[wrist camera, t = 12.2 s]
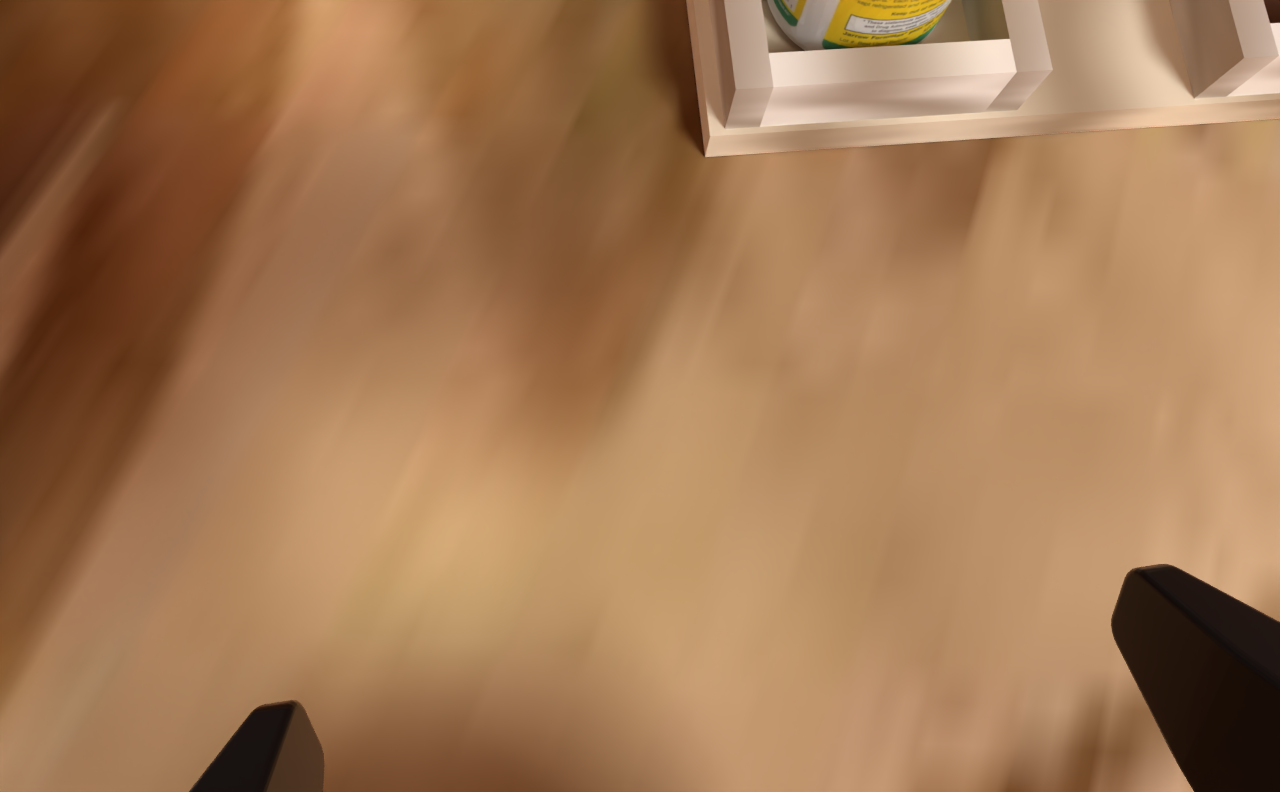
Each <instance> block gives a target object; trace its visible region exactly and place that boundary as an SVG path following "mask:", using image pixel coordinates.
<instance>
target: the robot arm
mask: <svg viewBox="0 0 1280 792" xmlns="http://www.w3.org/2000/svg"><path fill="white" fill-rule="evenodd" d="M1111 627H1112V633H1113V636H1114V639H1115V642H1116V644H1117V646H1118V648H1119V650H1120V652H1121V654H1122V656H1123V658H1124V660H1125V662H1126V664H1127V666H1128V668H1129V670H1130V672H1131V674H1132V676H1133V678H1134V680H1135V681H1136V683H1137V685H1138V687H1139V689H1140V691H1141V693H1142V695H1143V697H1144V699H1145V701H1146V703H1147V705H1148V707H1149V709H1150V711H1151V713H1152V715H1153V717H1154V719H1155V721H1156V723H1157V725H1158V727H1159V729H1160V731H1161V733H1162V735H1163V737H1164V739H1165V741H1166V743H1167V745H1168V747H1169V749H1170V751H1171V752H1172V754H1173V756H1174V758H1175V760H1176V762H1177V764H1178V765H1179V767H1180V769H1181V771H1182V772H1183V774H1184V776H1185V777H1186V779H1187V781H1188V782H1189V784H1190V786H1191V787H1192V789H1193V791H1194V792H1280V622H1279V621H1277V620H1275V619H1273V618H1271V617H1269V616H1268V615H1266V614H1264V613H1262V612H1260V611H1258V610H1256V609H1254V608H1252V607H1251V606H1249V605H1247V604H1245V603H1243V602H1241V601H1239V600H1237V599H1236V598H1234V597H1232V596H1230V595H1228V594H1226V593H1224V592H1222V591H1220V590H1219V589H1217V588H1215V587H1213V586H1211V585H1209V584H1207V583H1205V582H1204V581H1202V580H1200V579H1198V578H1196V577H1194V576H1192V575H1190V574H1188V573H1187V572H1185V571H1183V570H1181V569H1179V568H1177V567H1175V566H1172V565H1168V564H1158V565H1151V566H1145V567H1139V568H1134V569H1132V570H1131V571H1130V572H1128V573H1127V575H1126V577H1125V579H1124V582H1123V585H1122V588H1121V591H1120V594H1119V597H1118V600H1117V603H1116V606H1115V609H1114V612H1113V615H1112V619H1111ZM323 781H324V756H323V750H322V747H321V744H320V742H319V740H318V738H317V735H316V733H315V731H314V729H313V727H312V724H311V722H310V720H309V718H308V716H307V713H306V711H305V709H304V707H303V706H302V704H301V703H299V702H298V701H296V700H290V701H283V702H277V703H271V704H265V705H261V706H259V707H257V708H256V709H255V710H253V711H252V712H251V713H250V715H249V716H248V717H247V718H246V720H245V721H244V722H243V724H242V725H241V726H240V727H239V729H238V730H237V731H236V732H235V734H234V735H233V736H232V738H231V739H230V740H229V741H228V743H227V744H226V745H225V746H224V748H223V749H222V750H221V752H220V753H219V754H218V755H217V757H216V758H215V759H214V761H213V762H212V763H211V764H210V766H209V767H208V768H207V769H206V771H205V772H204V773H203V775H202V776H201V777H200V778H199V780H198V781H197V782H196V783H195V785H194V786H193V787H192V789H191V790H190V791H189V792H323Z"/></svg>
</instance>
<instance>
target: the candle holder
mask: <svg viewBox="0 0 1280 792" xmlns="http://www.w3.org/2000/svg"><path fill="white" fill-rule="evenodd" d="M686 4H687V12H688V20H689V29H690V37H691V45H692V53H693V62H694V70H695V78H696V86H697V95H698V103H699V111H700V119H701V128H702V136H703V144H704V152H705V157H713V156H728V155H743V154H758V153H773V152H788V151H803V150H818V149H833V148H848V147H863V146H878V145H893V144H908V143H923V142H938V141H953V140H968V139H983V138H998V137H1013V136H1028V135H1043V134H1058V133H1073V132H1088V131H1103V130H1118V129H1133V128H1147V127H1162V126H1177V125H1192V124H1207V123H1222V122H1237V121H1252V120H1267V119H1280V0H952V1H951V3H950V4H949V6H948V7H947V9H946V10H945V12H944V14H943V15H942V17H941V18H940V20H939V21H938V23H937V25H936V26H935V28H934V29H933V31H932V32H931V33H930V34H929V36H928V37H927V38H926V39H925V40H924V41H923V42H922V43H921V44H915V45H898V46H881V47H864V48H847V49H830V50H813V51H805V50H803V49H802V48H800V47H799V46H798V45H796V44H795V43H794V42H793V41H792V40H791V39H790V38H789V37H788V36H787V35H786V34H785V33H784V32H783V30H782V29H781V28H780V26H779V25H778V23H777V22H776V20H775V18H774V16H773V14H772V12H771V10H770V7H769V4H768V1H767V0H686Z"/></svg>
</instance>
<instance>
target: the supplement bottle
mask: <svg viewBox="0 0 1280 792" xmlns="http://www.w3.org/2000/svg"><path fill="white" fill-rule="evenodd" d="M767 1H768V4H769V7H770V10H771V12H772V14H773V16H774V18H775V20H776V22H777V23H778V25H779V26H780V28H781V29H782V30H783V32H784V33H785V34H786V35H787V36H788V37H789V38H790V39H791V40H792V41H793V42H794V43H795V44H796V45H798V46H799V47H800V48H802V49H803V50H805V51H813V50H830V49H847V48H864V47H881V46H898V45H915V44H921V43H922V42H923V41H924V40H925V39H926V38H927V37H928V36H929V34H930V33H931V32H932V31H933V29H934V28H935V26H936V25H937V23H938V21H939V20H940V18H941V17H942V15H943V14H944V12H945V10H946V9H947V7H948V6H949V4H950V3H951V1H952V0H767Z"/></svg>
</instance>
